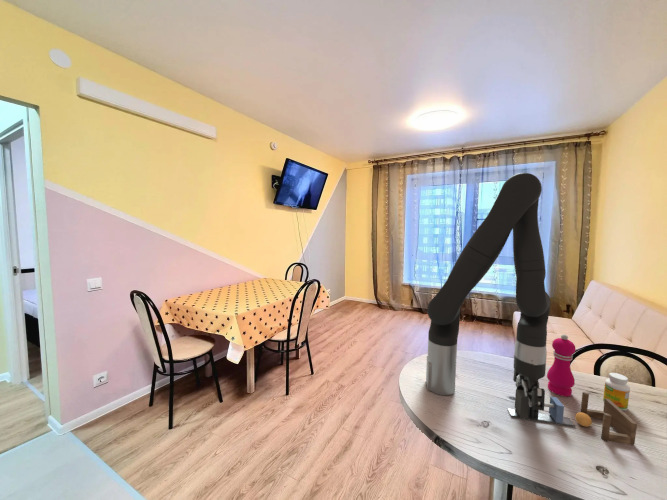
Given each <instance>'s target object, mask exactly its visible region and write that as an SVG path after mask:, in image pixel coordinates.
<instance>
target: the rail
mask: <svg viewBox="0 0 667 500" xmlns="http://www.w3.org/2000/svg"><path fill="white" fill-rule="evenodd" d="M507 412H508V414H509V416H510V418H515V419H522V420H526V421H527V420H528V421H534V422H541V423H547V424H551V425H559V426H565V427H572V428H576V427H577V426H576V425H577V424H575V422H574V421H573V420H572V419H571V418H570V417H568V416H567V417H565V416H563V423H557V422H555V420H554V419H553V418H552V416H551V415H550V414H549V413H548V414H547V413H540V412H538V420H533V419H529V418H525V417H520V416H519V414H518V413H517V411H516V409H515V408H514V409H513V408H507Z"/></svg>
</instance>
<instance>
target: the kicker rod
mask: <svg viewBox="0 0 667 500" xmlns="http://www.w3.org/2000/svg"><path fill="white" fill-rule="evenodd" d="M528 393H529V392H528ZM529 394H530V395H532V393H529ZM531 400H532V398H531ZM528 407H529V403H528V398H527V397H526V396H525V392H524V390H518V389H517V388H516V389H515V398H514V409H515V410H516V411H517V413H518V414H519V416H520V417H525V418H529V417H528ZM544 408H548V415H551V416H552V418H553V419H554V420H555V422H557V423H563V417H564V413H565V406H564V404H563V403H562V402H561V401H560V400H559V398H558V397H555V396H549V403H548V402H544Z"/></svg>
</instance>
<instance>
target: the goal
mask: <svg viewBox="0 0 667 500" xmlns="http://www.w3.org/2000/svg"><path fill="white" fill-rule="evenodd" d="M581 393H582V394H581V404H580V411H579V412H583V413H585V414H587V415H588V416H589V417H590V418H591V419H597V420H602V427H601V435H600V439H601V440H603V441H604V442H611V443H618V444H625V445H631V446H635V444H636V443H635V442H636V435H637V427H638V423H637V422H636V421H634V419H632V418H631V417H630V416H629V415H628V414H626V413H625V412H624V410H621V409H620V408H618V407H617V406H616V405H615V404H614V403H613V402H612V401H611V400H609V399H605V401H603V410H598V409H591V408H588V406H589V397H590V394H589V393H588V392H584V391H582V392H581ZM611 427H612V428H613V430H615V432H614V431H611Z"/></svg>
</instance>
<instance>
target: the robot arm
mask: <svg viewBox="0 0 667 500" xmlns="http://www.w3.org/2000/svg"><path fill="white" fill-rule="evenodd" d="M542 190H543V187H542V183H541V180H540V179H539V178H538V177H537V176H536V175H534V174H532V173H530V172H529V173H528V172H520V173H516V174H514V175H512V176H510V177H509V178H508V179H507V180H505V182H504V183H503V185H502V187H501V189H500V191H499V193H498V195H497V197H496V199H495V201H494V203H493V205H492V207H491V209H490V211H489V213H488V214H487V215H486V217H485V218H484V220H482V222H481V223H480V225H479V226H478V227H477V229H475V232H474V233H473V234H472V235H471V237H470V239H469V240H468V242H467V243H466V244H465V246H464V248H463V249H462V250H461V252H460V254H459V256H458V258H457V259H456V261H455V262H454V265H453V267H452V268H451V271H450V273H449V275H448V277H447V279H446V281H445V282H444V283H443V285H442V287H441V288H440V289H439V290H438V292H437V293H436V294H435V295H434V296H433V297H432V299H431V300H430V301H429V303H428V304H427V316H428V318H429V319H430V324H429V325H430V326H429V328H428V339H427V340H428V341H427V356H426V367H425V368H426V370H425V371H426V372H425V383H426V390H427V391H430V392H432V393H434V394H436V395H441V396H451V395H453V394H454V393H455V391H456V380H457V379H456V378H457V377H456V375H457V355H458V354H457V352H458V337H459V333H460V318H461V307H462V305H463V303H464V301H465V300H466V298H467V297H468V295H469V294H470V293H471V292H472V290H473V289H474V288H475V287H476V286H477V285H478V284H479V283H480V281H481V280H482V279H483V278H484V277H485V276H486V274H487V273H488V272H489V270H490V269H491V267H492V266H493V264H494V263H495V262H496V260H497V259H498V258H499V256H500V254H501V252H502V251H503V249H504V247H505V245H506V243H507V241H508V239H509V237H510V235H511V232H512V252H513V254H512V255H513V263H514V271H515V276H516V277H515V279H516V280H515V301H516V302H515V303H516V306H517V308H518V310H519V311H520V318H519V320H518V322H517V326H516V338H515V343H514V350H513V351H514V354H513V369H514V370H513V377H512V378H513V379H512V380H513V382H515V384H514V385H515V387H516V389H518V390H524V392H525V396H526V397H527V398H528V403H529V407H528V417H529V419H533V420H538V413H540V412H539V411H542V412H543V411H544V410H545V407H544V403H545V399H546V398H545V397H546V395H545V393H546V390H545V388H541V386H540V383H539V380H541V379H543V378H544V377H545V376H546V369H547V356H548V355H547V352H548V351H547V338H548V330H547V329H548V322H549V315H550V311H551V297H550V295H549V294H548V292H547V291H546V285H545V279H546V274H547V273H546V262H545V255H544V249H543V242H542V239H541V238H542V237H541V235H540V234H541V233H540V229H539V217H538V216H539V215H538V210H539V203H540V202H539V201H540V197H541V194H542ZM528 392H529V393H532V395H530V394H529V393H528ZM531 398H532V400H531ZM533 420H532V421H533Z"/></svg>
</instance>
